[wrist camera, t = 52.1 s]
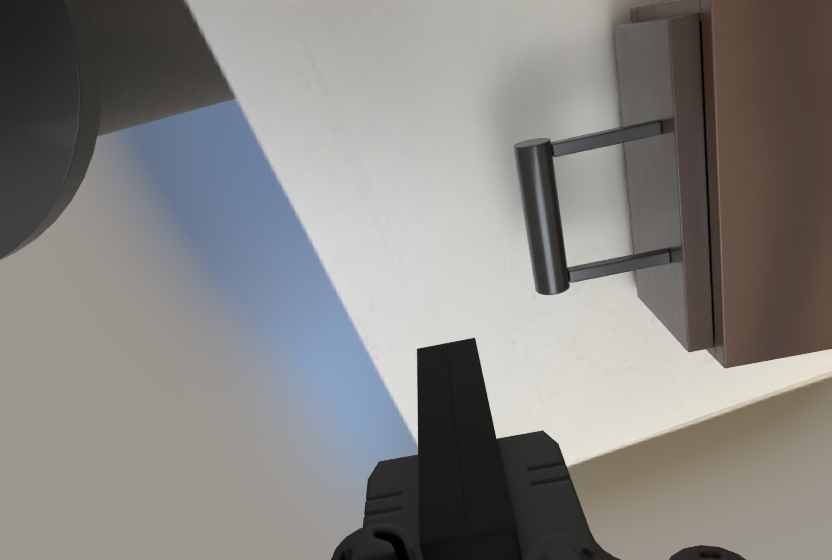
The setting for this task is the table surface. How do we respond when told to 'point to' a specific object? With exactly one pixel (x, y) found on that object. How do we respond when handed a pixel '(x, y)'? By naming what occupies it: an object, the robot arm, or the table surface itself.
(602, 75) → the table surface
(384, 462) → the robot arm
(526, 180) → the drawer
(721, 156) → the cabinet
